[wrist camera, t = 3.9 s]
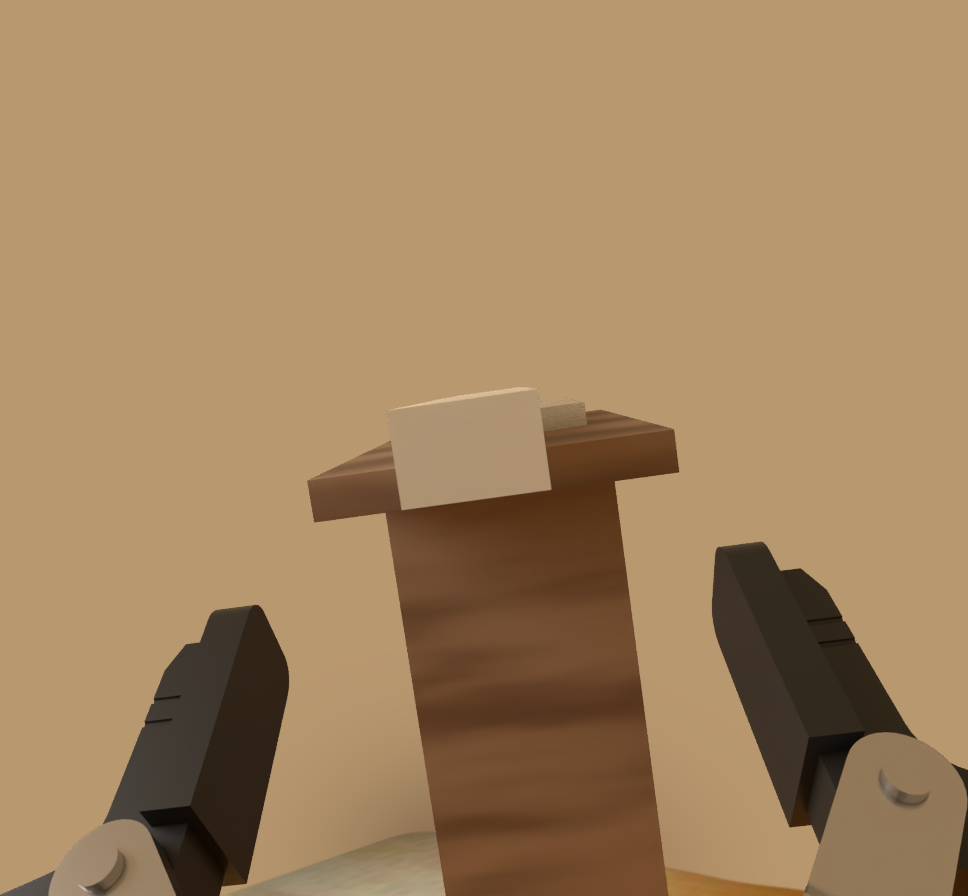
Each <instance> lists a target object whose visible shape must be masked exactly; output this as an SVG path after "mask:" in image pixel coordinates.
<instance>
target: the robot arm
mask: <svg viewBox="0 0 968 896" xmlns="http://www.w3.org/2000/svg"><path fill="white" fill-rule="evenodd" d="M712 617H713V623H714V628H715V633H716V637H717V640H718V643H719V646H720V648H721V651H722V653H723V656H724V658H725V661H726V664H727V666H728V669H729V672H730V674H731V677H732V679H733V682H734V684H735V687H736V690H737V692H738V695H739V698H740V700H741V703H742V705H743V708H744V711H745V713H746V716H747V718H748V721H749V723H750V726H751V729H752V731H753V734H754V736H755V739H756V741H757V744H758V746H759V749H760V752H761V755H762V757H763V760H764V762H765V765H766V767H767V770H768V772H769V775H770V778H771V780H772V783H773V786H774V788H775V791H776V793H777V796H778V799H779V801H780V804H781V806H782V809H783V812H784V814H785V817H786V819H787V822H788V824H789V827H797V826H806V825H812V827H813V829H814V832H815V834H816V837H817V839H818V842H819V844H820V846H819V849H818V853H817V856H816V859H815V862H814V866H813V869H812V872H811V875H810V878H809V881H808V885H807V887H806V889H805V892H804V895H803V896H968V770H966V769H964V768H961V767H958V766H956V765H954V764H952V763H950V762H949V761H948V760H947V759H946V758H945V757H944V756H943V755H942V754H940V753H939V752H938V751H936V750H935V749H934V748H932V747H930V746H929V745H927V744H926V743H924V742H922V741H920V740H918V739H917V738H916V737H915V736H914V735H913V734H912V733H911V731H910V730H909V729H908V727H907V725H906V724H905V723H904V721H903V719H902V717H901V716H900V714H899V712H898V711H897V709H896V707H895V705H894V704H893V702H892V700H891V699H890V697H889V695H888V694H887V692H886V690H885V689H884V687H883V685H882V683H881V682H880V680H879V678H878V677H877V675H876V673H875V671H874V670H873V668H872V666H871V665H870V663H869V661H868V660H867V658H866V656H865V654H864V653H863V651H862V649H861V648H860V646H859V644H858V643H856V642H855V638H854V636H853V634H852V632H851V631H850V629H849V627H848V625H847V624H846V622H845V621H844V622H843V620H842V615H841V613H840V612H839V610H838V608H837V607H836V605H835V603H834V602H833V600H832V598H831V596H830V595H829V593H828V591H827V590H826V589H825V588H824V587H823V586H821V585H820V584H819V583H818V582H817V581H815V580H814V579H813V578H812V577H810V576H809V575H808V574H806V573H805V572H804V571H803V570H802V569H792V570H784V571H780V570H779V568H778V566H777V564H776V562H775V560H774V558H773V556H772V554H771V553H770V551H769V549H768V547H767V546H766V545H765V544H764V543H763V542H755V543H747V544H739V545H732V546H724V547H718V548H717V550H716V554H715V566H714V582H713V598H712ZM288 690H289V672H288V666H287V662H286V659H285V656H284V654H283V652H282V650H281V647H280V645H279V643H278V641H277V639H276V637H275V635H274V633H273V630H272V628H271V626H270V624H269V622H268V620H267V618H266V616H265V613H264V611H263V610H262V608H261V607H260V606H259V605H252V606H245V607H236V608H229V609H221V610H215V611H214V612H213V613H212V614H211V615H210V617H209V619H208V622H207V625H206V627H205V630H204V633H203V636H202V638H201V641H200V643H193V644H186V645H185V646H184V648H183V649H182V650H181V651H180V653H179V654H178V655H177V656H176V657H175V659H174V660H173V661H172V662H171V664H170V665H169V666H168V667H167V669H166V670H165V672H164V674H163V677H162V679H161V682H160V684H159V687H158V689H157V692H156V694H155V697H154V704H152V705H151V707H150V709H149V712H148V714H147V717H146V720H145V727H144V728H142V730H141V732H140V735H139V737H138V740H137V742H136V745H135V747H134V750H133V752H132V755H131V757H130V760H129V763H128V765H127V768H126V770H125V773H124V775H123V777H122V780H121V783H120V785H119V788H118V790H117V793H116V795H115V798H114V800H113V803H112V805H111V808H110V810H109V813H108V815H107V817H106V819H105V821H104V823H103V825H101V826H99V827H97V828H95V829H94V830H92V831H91V832H89V833H87V835H85V836H84V837H82V838H81V839H80V840H79V841H78V842H77V843H76V844H75V845H74V846H73V847H72V848H71V849H70V850H69V851H68V852H67V854H66V855H65V856H64V858H63V859H62V861H61V862H60V863H59V865H58V867H57V869H56V870H55V871H53V872H51V873H49V874H47V875H45V876H42V877H40V878H38V879H36V880H33V881H31V882H29V883H26V884H24V885H22V886H20V887H18V888H15V889H13V890H10V891H8V892H6V893H4V894H1V895H0V896H219V895H220V891H221V887H222V886H230V885H239V884H246V883H247V879H248V875H249V870H250V866H251V861H252V856H253V851H254V847H255V842H256V838H257V834H258V829H259V824H260V820H261V815H262V811H263V806H264V801H265V797H266V792H267V788H268V783H269V778H270V774H271V769H272V764H273V760H274V756H275V751H276V746H277V742H278V737H279V733H280V728H281V723H282V719H283V714H284V710H285V705H286V701H287V696H288Z"/></svg>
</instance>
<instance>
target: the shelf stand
mask: <svg viewBox="0 0 968 896" xmlns="http://www.w3.org/2000/svg"><path fill="white" fill-rule="evenodd" d="M586 419H587V426H581V427H574V428H567V429H560V430H553V431H545V432H544V439H545V446H546V453H547V461H548V468H549V475H550V483H551V490H546V491H538V492H531V493H524V494H517V495H509V496H502V497H495V498H488V499H480V500H473V501H466V502H459V503H451V504H444V505H437V506H429V507H422V508H415V509H408V510H402V509H401V503H400V496H399V490H398V484H397V477H396V471H395V464H394V458H393V451H392V445H391V441H389V442H387V443H385V444H383V445H381V446H379V447H377V448H375V449H373V450H371V451H368V452H366V453H364V454H362V455H360V456H358V457H356V458H354V459H352V460H350V461H348V462H345V463H343V464H341V465H339V466H337V467H335V468H333V469H331V470H329V471H327V472H325V473H322V474H320V475H318V476H316V477H314V478H312V479H310V480H308V481H307V482H308V487H309V494H310V499H311V506H312V512H313V518H314V522H321V521H328V520H336V519H342V518H349V517H357V516H364V515H372V514H379V513H386V518H387V524H388V531H389V537H390V544H391V550H392V556H393V563H394V569H395V575H396V582H397V588H398V594H399V600H400V607H401V613H402V620H403V626H404V632H405V639H406V645H407V652H408V658H409V664H410V671H411V677H412V683H413V689H414V696H415V702H416V709H417V715H418V721H419V728H420V734H421V740H422V746H423V753H424V759H425V766H426V772H427V779H428V785H429V791H430V798H431V804H432V810H433V816H434V822H435V829H436V836H437V842H438V848H439V855H440V861H441V867H442V874H443V880H444V886H445V893H446V896H668V890H667V882H666V874H665V866H664V859H663V851H662V843H661V836H660V828H659V820H658V812H657V805H656V798H655V789H654V782H653V774H652V766H651V758H650V751H649V743H648V735H647V728H646V720H645V712H644V705H643V697H642V690H641V682H640V674H639V666H638V658H637V651H636V643H635V636H634V628H633V620H632V612H631V605H630V597H629V589H628V581H627V574H626V566H625V558H624V551H623V543H622V535H621V527H620V520H619V512H618V504H617V496H616V489H615V481H619V480H626V479H633V478H640V477H648V476H656V475H663V474H670V473H677V472H679V467H678V459H677V450H676V442H675V434H674V429H671V428H667V427H663V426H660V425H656V424H652V423H648V422H645V421H641V420H637V419H634V418H630V417H626V416H622V415H619V414H615V413H611V412H607V411H603V410H595V411H588V412H586Z"/></svg>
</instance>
